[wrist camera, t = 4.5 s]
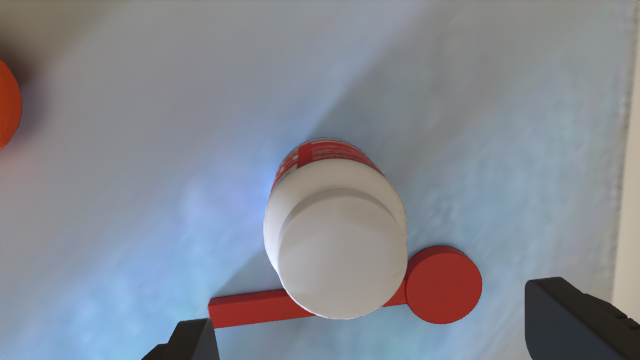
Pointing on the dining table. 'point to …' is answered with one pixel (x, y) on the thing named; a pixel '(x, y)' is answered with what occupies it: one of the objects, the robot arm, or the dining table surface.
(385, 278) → the pill bottle
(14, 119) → the clementine
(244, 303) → the spoon
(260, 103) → the dining table surface
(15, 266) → the dining table surface
